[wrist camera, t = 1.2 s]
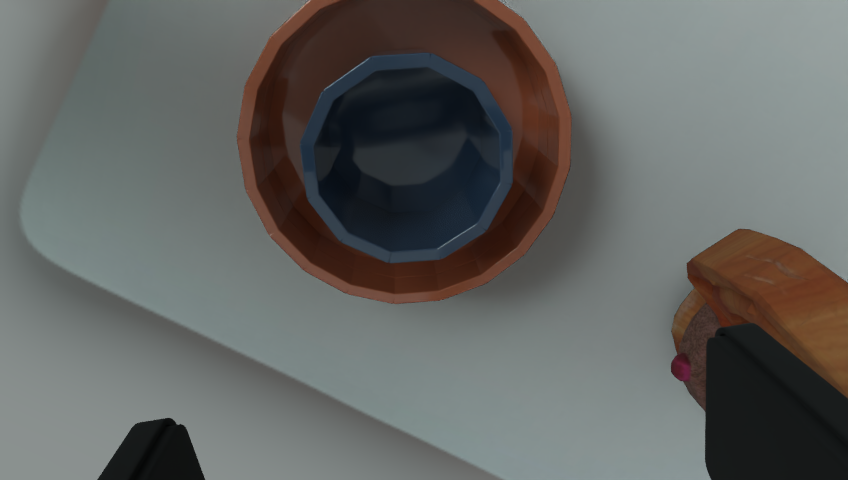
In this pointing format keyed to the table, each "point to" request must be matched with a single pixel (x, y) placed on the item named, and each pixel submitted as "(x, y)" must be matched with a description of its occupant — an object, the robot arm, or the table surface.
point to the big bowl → (341, 50)
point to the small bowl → (407, 156)
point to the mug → (762, 306)
